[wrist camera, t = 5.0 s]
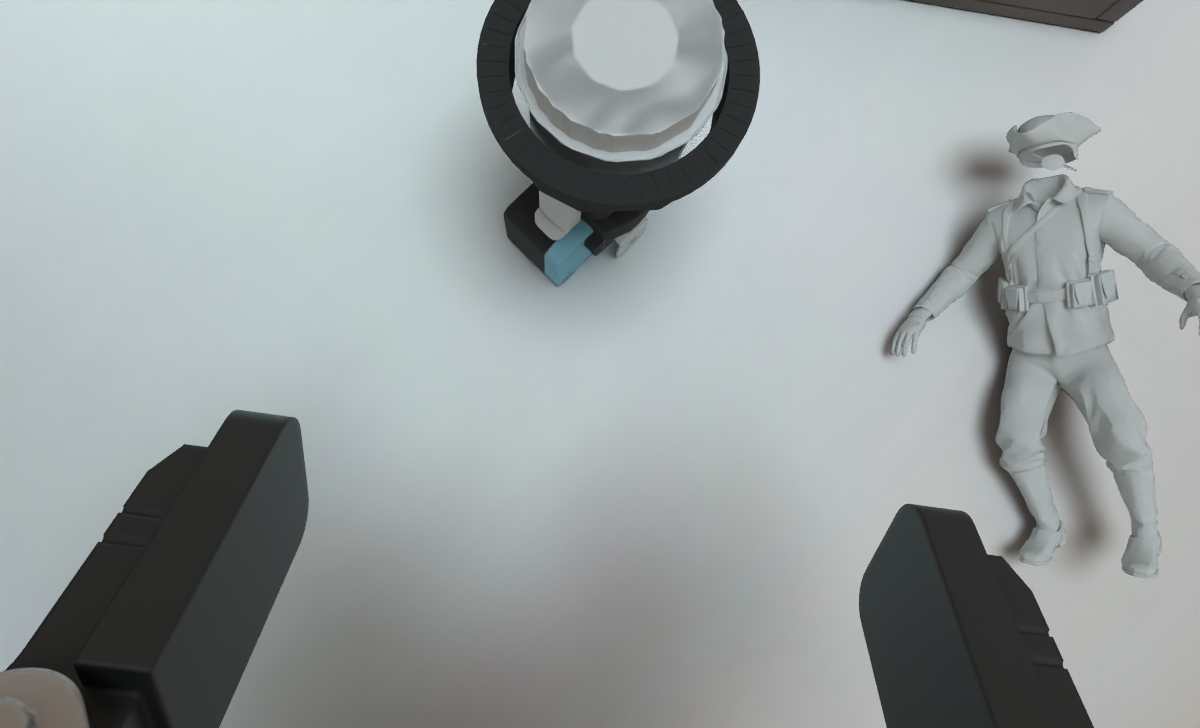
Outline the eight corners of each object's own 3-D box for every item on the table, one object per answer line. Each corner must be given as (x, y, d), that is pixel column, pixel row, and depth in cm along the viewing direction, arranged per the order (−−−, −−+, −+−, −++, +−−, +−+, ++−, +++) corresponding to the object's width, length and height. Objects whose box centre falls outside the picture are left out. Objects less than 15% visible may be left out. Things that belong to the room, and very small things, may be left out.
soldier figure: (911, 558, 24) (852, 158, 22) (955, 491, 28) (909, 141, 25) (1239, 597, 19) (1213, 86, 17) (1241, 509, 23) (1219, 77, 20)
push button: (622, 65, 25) (674, -203, 15) (746, 186, 24) (884, -3, 14) (464, 212, 24) (406, 32, 14) (592, 339, 24) (627, 249, 14)
